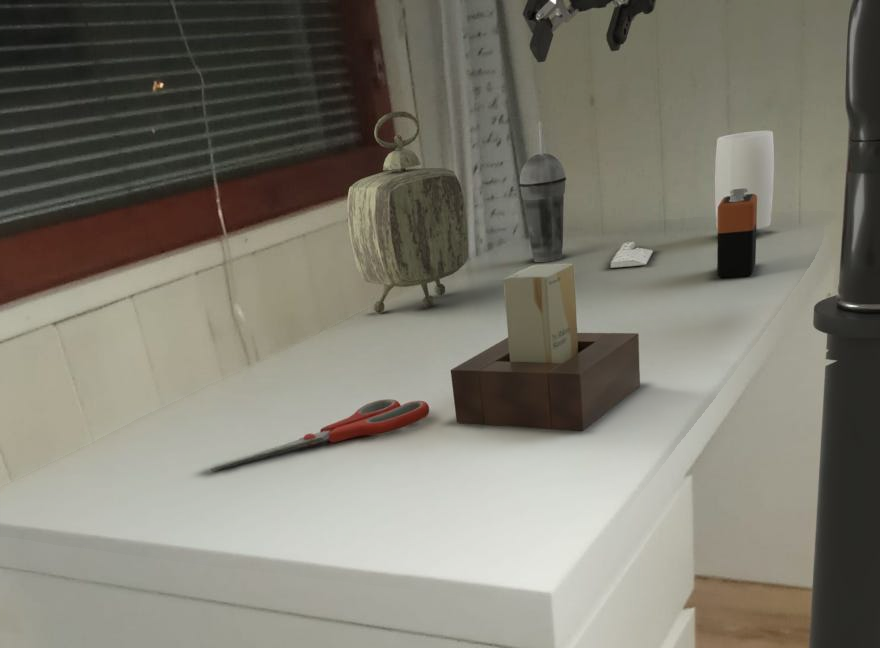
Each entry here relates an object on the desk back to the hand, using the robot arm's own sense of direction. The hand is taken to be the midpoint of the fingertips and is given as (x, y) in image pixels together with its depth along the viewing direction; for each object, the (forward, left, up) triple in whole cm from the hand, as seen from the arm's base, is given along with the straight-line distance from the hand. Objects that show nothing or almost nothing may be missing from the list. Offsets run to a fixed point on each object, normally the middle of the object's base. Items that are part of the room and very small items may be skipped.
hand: (574, 51), depth 105 cm
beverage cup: (+25, -39, -29) cm, 55 cm away
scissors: (+7, +43, -29) cm, 52 cm away
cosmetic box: (-9, +28, -29) cm, 41 cm away
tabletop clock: (+30, -9, -29) cm, 43 cm away
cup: (-2, -52, -29) cm, 60 cm away
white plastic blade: (+10, -38, -29) cm, 49 cm away
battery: (-9, -26, -29) cm, 40 cm away
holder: (-9, +29, -29) cm, 41 cm away
